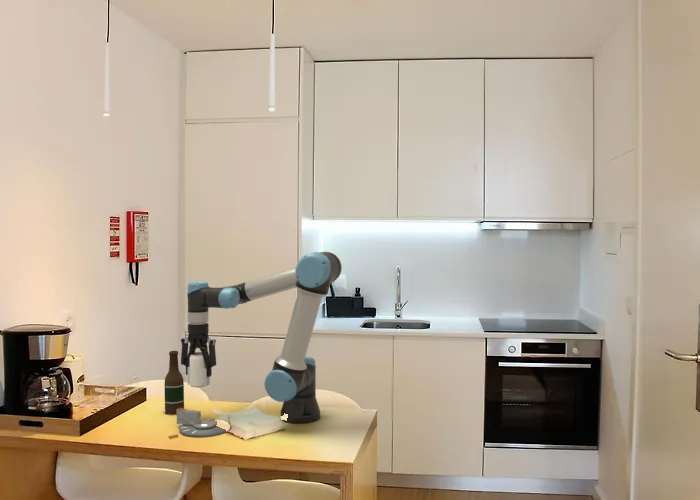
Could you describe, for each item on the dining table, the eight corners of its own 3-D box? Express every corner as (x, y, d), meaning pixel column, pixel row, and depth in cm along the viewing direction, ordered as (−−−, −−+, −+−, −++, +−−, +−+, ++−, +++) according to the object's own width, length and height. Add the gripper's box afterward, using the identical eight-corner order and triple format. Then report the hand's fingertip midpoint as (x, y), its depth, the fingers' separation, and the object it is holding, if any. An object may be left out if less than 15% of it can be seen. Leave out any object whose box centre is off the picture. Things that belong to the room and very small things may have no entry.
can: (203, 387, 230) (202, 355, 229) (186, 387, 231) (186, 354, 230) (210, 383, 236) (210, 352, 236) (194, 383, 237) (194, 351, 237)
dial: (220, 423, 225) (220, 408, 225) (209, 429, 217) (208, 414, 217) (185, 419, 230) (184, 405, 230) (172, 426, 222) (172, 411, 222)
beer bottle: (187, 409, 248) (186, 349, 247) (180, 415, 240) (179, 353, 239) (168, 409, 248) (167, 349, 248) (160, 414, 241) (160, 353, 240)
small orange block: (176, 435, 215) (176, 433, 215) (178, 436, 214) (178, 434, 214) (168, 437, 213) (168, 435, 213) (170, 438, 212) (170, 436, 212)
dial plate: (240, 424, 228) (240, 421, 228) (214, 439, 211) (214, 436, 211) (197, 419, 234) (197, 416, 234) (168, 434, 217) (168, 431, 217)
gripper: (226, 322, 233) (226, 384, 234) (181, 320, 239) (182, 380, 240) (215, 325, 226) (216, 388, 227) (170, 323, 232) (170, 384, 233)
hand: (198, 384), depth 233 cm, fingers closed on can, 6 cm apart
